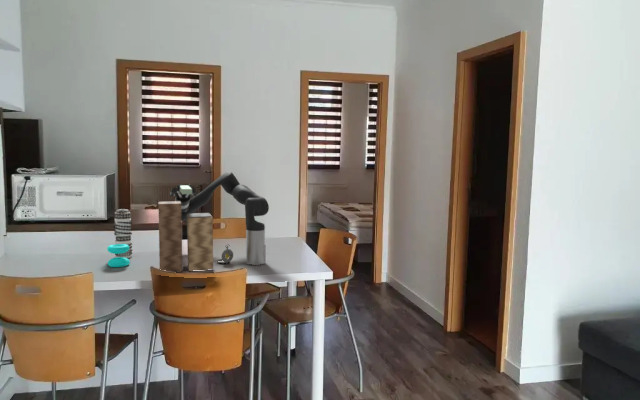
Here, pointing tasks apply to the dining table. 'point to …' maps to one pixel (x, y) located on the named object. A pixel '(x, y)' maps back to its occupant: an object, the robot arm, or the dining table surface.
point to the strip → (185, 189)
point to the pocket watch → (226, 255)
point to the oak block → (200, 241)
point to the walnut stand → (170, 236)
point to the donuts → (118, 260)
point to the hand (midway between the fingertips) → (184, 185)
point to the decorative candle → (123, 231)
